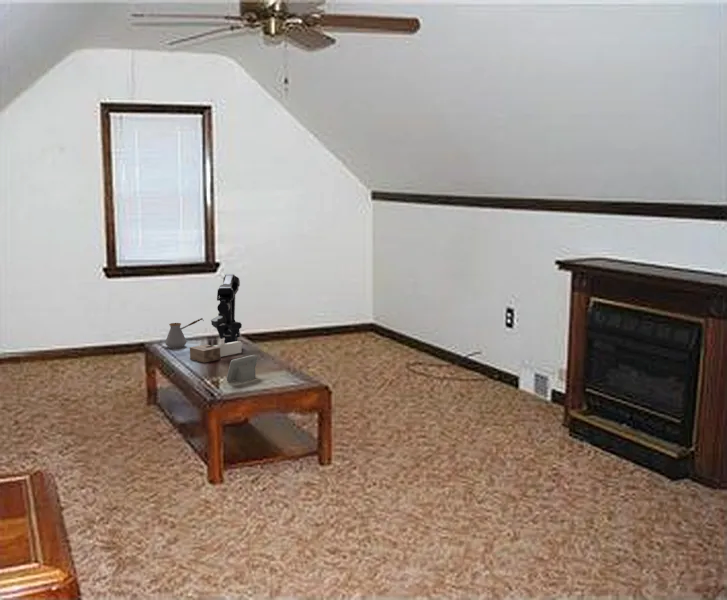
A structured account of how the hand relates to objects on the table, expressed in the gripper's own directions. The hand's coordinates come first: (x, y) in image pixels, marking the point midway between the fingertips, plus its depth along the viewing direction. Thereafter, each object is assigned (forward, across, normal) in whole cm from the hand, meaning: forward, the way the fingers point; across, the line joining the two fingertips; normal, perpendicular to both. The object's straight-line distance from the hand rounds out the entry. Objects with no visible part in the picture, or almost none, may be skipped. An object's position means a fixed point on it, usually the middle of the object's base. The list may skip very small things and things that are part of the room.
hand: (226, 339), depth 414 cm
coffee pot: (+8, -34, -3) cm, 35 cm away
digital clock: (+8, +46, -26) cm, 54 cm away
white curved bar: (+8, 0, -1) cm, 8 cm away
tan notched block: (+8, 0, -14) cm, 16 cm away
